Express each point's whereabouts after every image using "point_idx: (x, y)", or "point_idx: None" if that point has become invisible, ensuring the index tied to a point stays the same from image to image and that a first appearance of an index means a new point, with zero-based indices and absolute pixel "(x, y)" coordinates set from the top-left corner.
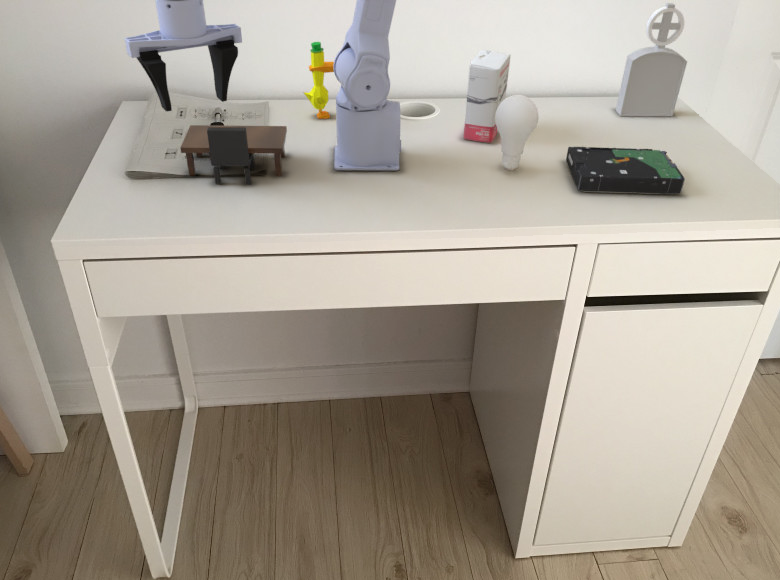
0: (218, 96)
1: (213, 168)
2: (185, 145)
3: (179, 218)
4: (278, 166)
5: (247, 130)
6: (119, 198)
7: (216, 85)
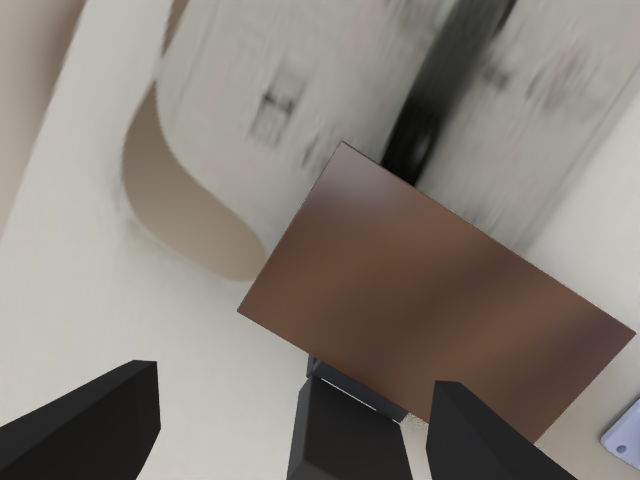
0: (434, 414)
1: (306, 376)
2: (257, 304)
3: (180, 445)
4: None
5: (497, 299)
6: (82, 298)
7: (458, 441)
